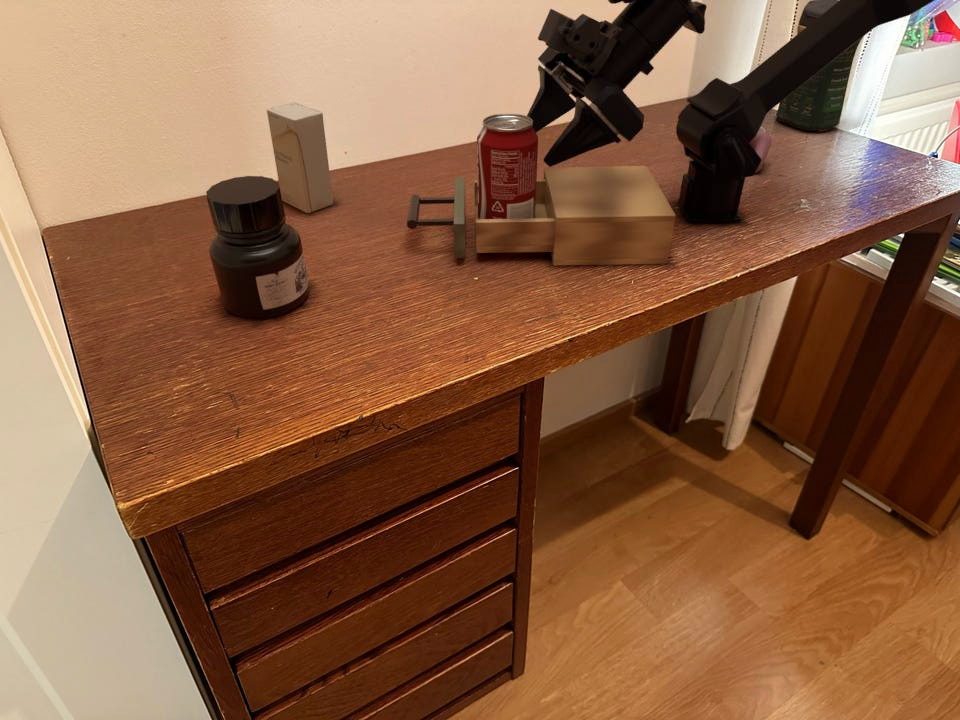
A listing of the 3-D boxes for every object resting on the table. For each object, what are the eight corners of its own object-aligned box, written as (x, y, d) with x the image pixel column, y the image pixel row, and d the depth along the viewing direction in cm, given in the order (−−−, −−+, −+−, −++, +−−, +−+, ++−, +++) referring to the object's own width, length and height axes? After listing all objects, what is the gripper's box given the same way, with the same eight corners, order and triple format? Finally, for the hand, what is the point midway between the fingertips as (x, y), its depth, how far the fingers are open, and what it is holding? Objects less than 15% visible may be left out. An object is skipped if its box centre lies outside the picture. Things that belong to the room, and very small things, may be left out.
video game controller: (762, 177, 101) (778, 128, 100) (758, 173, 97) (775, 122, 96) (697, 164, 106) (711, 117, 104) (690, 159, 102) (705, 111, 100)
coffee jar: (846, 128, 114) (884, 3, 102) (809, 135, 111) (845, 8, 100) (802, 112, 121) (833, -7, 110) (766, 118, 118) (795, -3, 107)
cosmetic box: (281, 201, 92) (263, 109, 85) (308, 191, 95) (293, 101, 88) (309, 214, 89) (292, 119, 82) (336, 204, 92) (323, 110, 84)
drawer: (406, 258, 77) (403, 224, 75) (413, 209, 88) (411, 177, 86) (560, 256, 78) (562, 222, 75) (549, 207, 88) (550, 175, 86)
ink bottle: (288, 326, 68) (265, 214, 61) (206, 318, 70) (173, 207, 62) (323, 277, 76) (306, 172, 69) (248, 271, 77) (223, 167, 70)
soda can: (543, 230, 80) (548, 127, 73) (488, 239, 79) (487, 134, 72) (523, 207, 86) (525, 109, 78) (471, 215, 84) (469, 115, 77)
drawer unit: (553, 265, 78) (556, 217, 74) (541, 211, 89) (543, 167, 86) (667, 263, 78) (676, 215, 74) (641, 209, 89) (647, 165, 86)
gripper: (559, -35, 76) (464, 78, 80) (628, -7, 61) (507, 129, 66) (618, 38, 82) (527, 139, 87) (694, 79, 67) (579, 198, 72)
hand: (533, 149), depth 78 cm, fingers open, 9 cm apart
